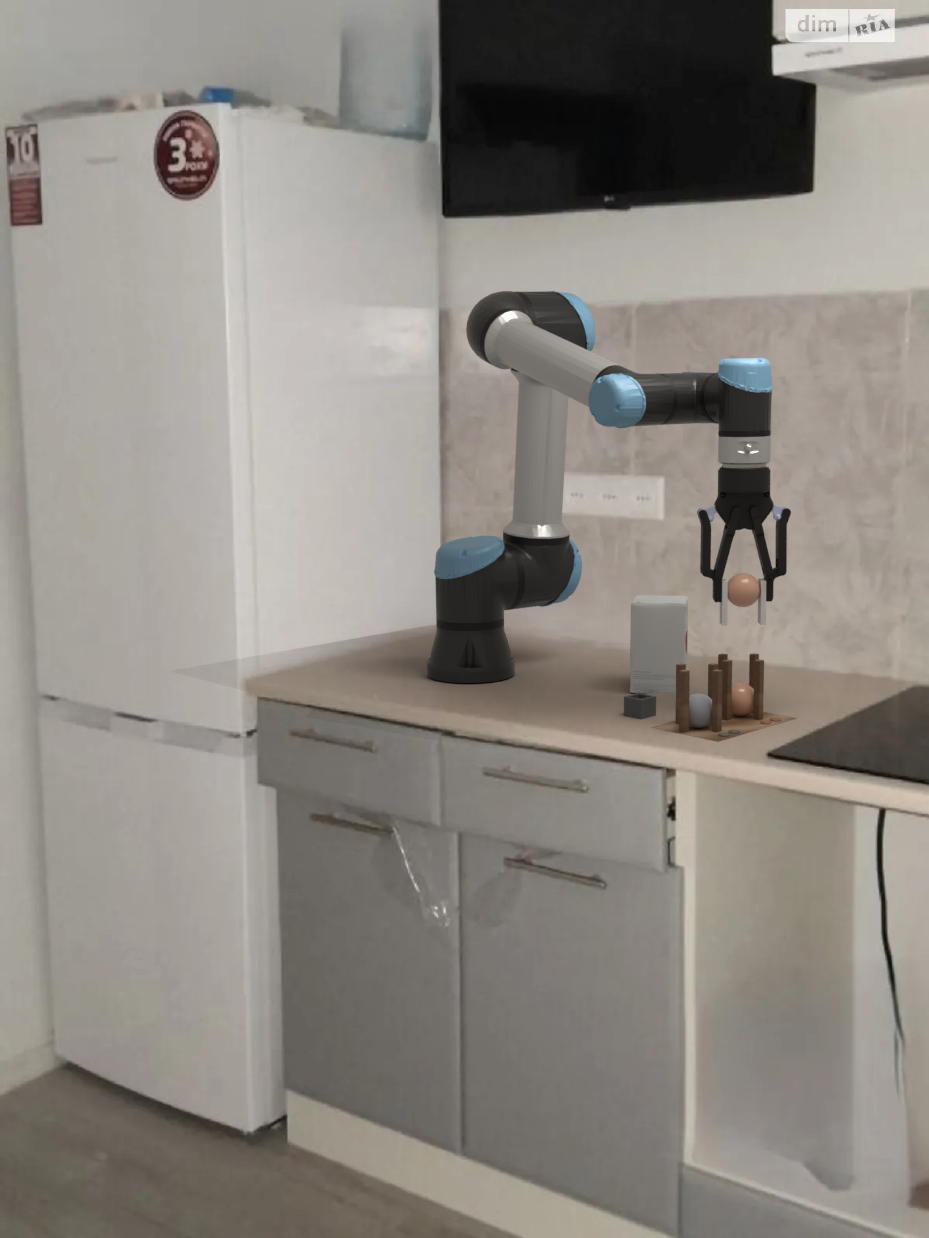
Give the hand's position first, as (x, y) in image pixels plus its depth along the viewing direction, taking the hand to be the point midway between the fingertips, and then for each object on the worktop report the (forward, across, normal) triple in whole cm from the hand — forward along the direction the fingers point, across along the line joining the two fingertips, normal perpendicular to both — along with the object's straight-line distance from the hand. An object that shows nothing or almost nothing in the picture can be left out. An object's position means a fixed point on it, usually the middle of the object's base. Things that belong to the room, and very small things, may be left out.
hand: (742, 623), depth 225 cm
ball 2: (+14, 0, 0) cm, 14 cm away
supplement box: (+15, -10, +22) cm, 28 cm away
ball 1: (+14, -7, -7) cm, 17 cm away
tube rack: (+15, -3, -4) cm, 15 cm away
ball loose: (-5, 0, 0) cm, 5 cm away
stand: (+15, -15, +1) cm, 21 cm away
